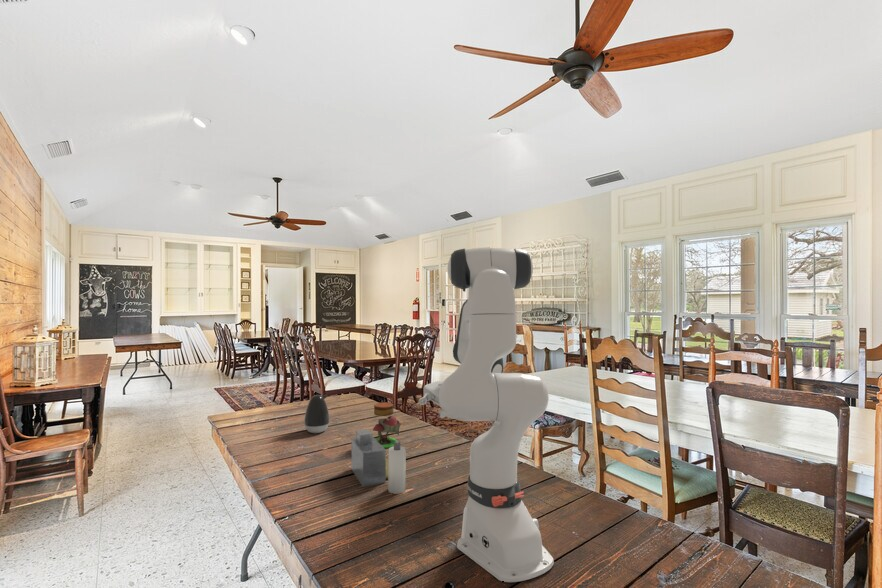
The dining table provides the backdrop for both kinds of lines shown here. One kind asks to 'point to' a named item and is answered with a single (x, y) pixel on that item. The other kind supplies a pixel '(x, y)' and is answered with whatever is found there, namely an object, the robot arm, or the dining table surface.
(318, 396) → the dark grey egg shape
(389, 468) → the white bottle
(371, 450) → the motor
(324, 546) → the dining table surface
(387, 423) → the mushroom figurine
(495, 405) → the robot arm
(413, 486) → the dining table surface
